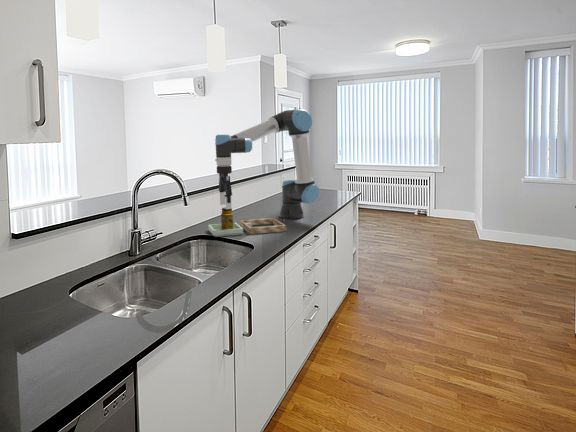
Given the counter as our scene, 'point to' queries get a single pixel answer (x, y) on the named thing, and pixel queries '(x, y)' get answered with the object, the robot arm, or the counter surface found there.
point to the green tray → (235, 231)
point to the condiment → (226, 219)
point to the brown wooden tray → (263, 229)
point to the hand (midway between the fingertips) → (225, 206)
